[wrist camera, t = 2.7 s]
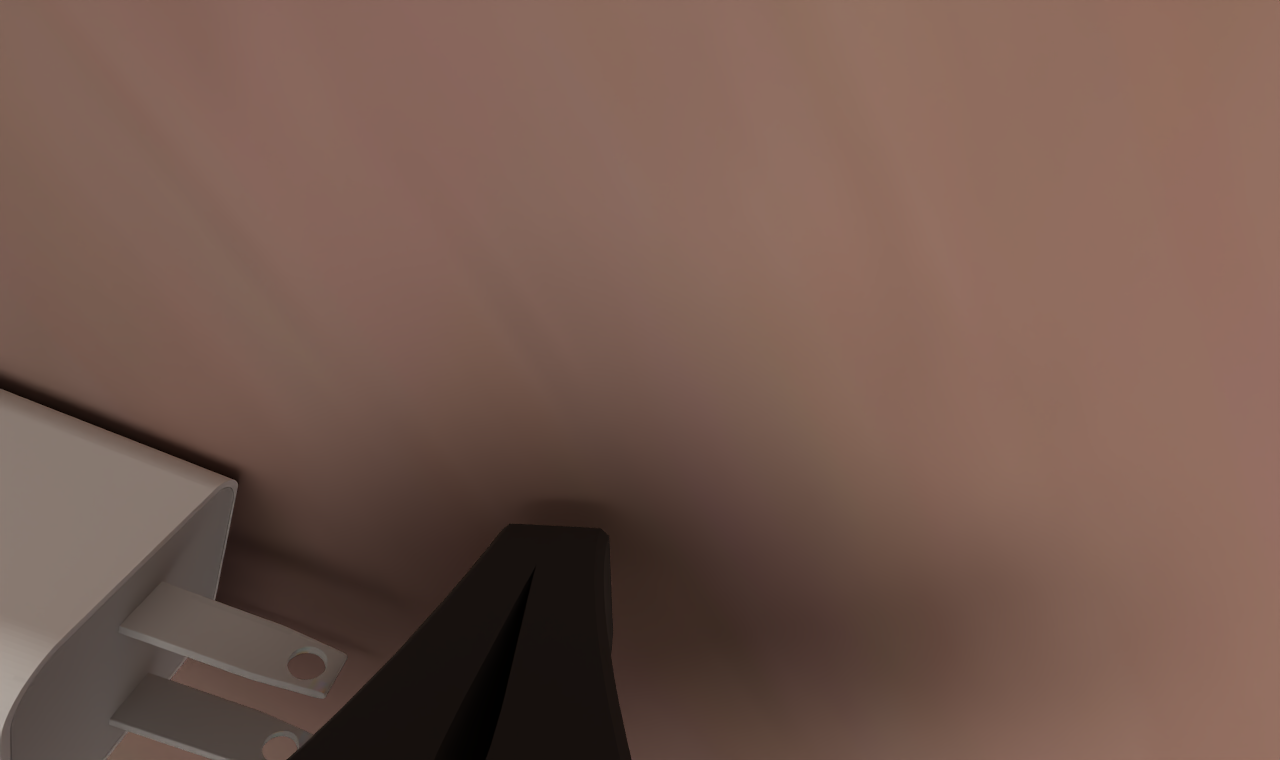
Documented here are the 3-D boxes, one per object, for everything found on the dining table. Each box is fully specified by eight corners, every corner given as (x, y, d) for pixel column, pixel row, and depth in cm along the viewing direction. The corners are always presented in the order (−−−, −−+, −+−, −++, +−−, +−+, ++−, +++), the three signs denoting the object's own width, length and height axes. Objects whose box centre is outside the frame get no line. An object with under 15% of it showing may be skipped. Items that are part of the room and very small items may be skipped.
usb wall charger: (-62, 339, 10) (-508, 530, 6) (413, 526, 10) (264, 788, 7) (-48, 536, 11) (-384, 770, 8) (354, 680, 12) (213, 949, 9)
